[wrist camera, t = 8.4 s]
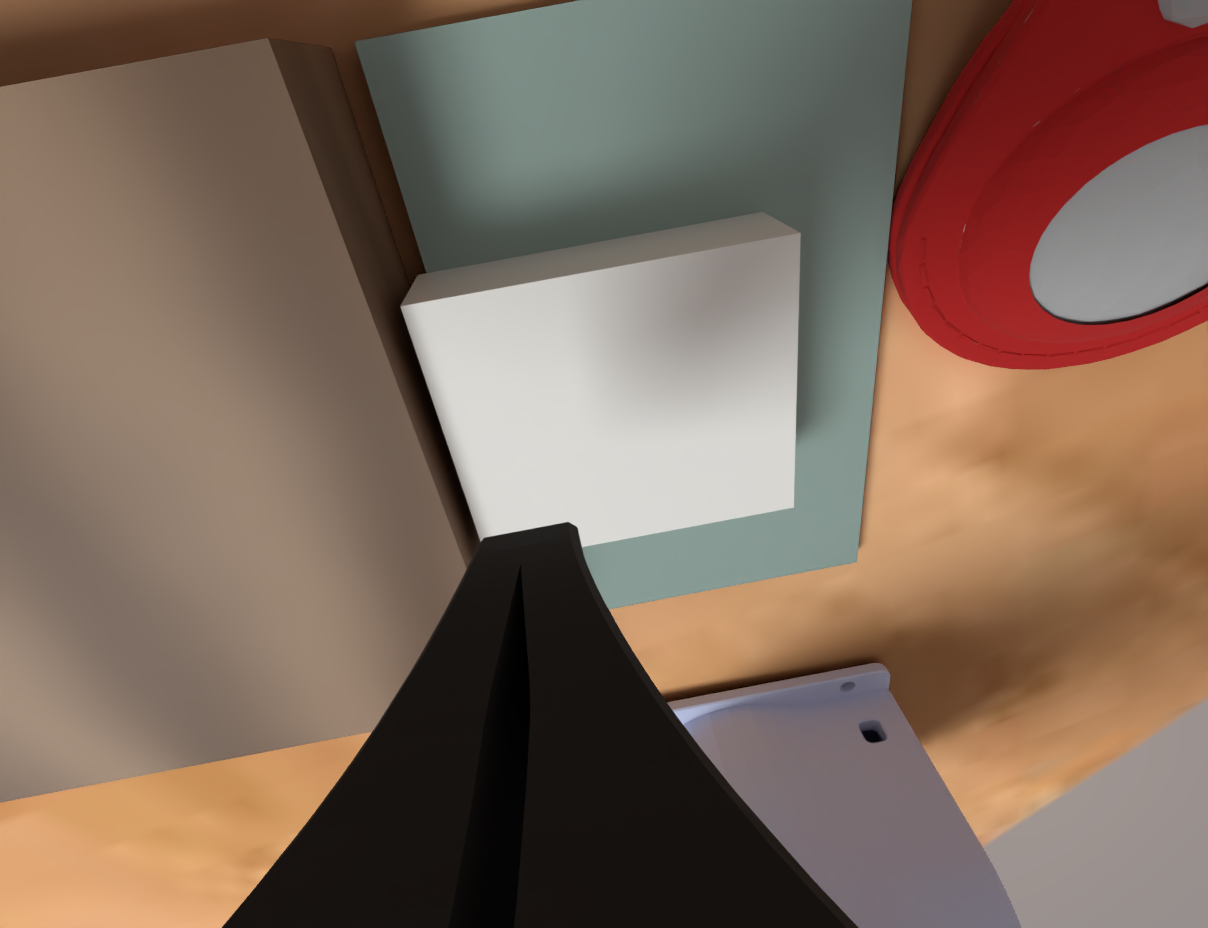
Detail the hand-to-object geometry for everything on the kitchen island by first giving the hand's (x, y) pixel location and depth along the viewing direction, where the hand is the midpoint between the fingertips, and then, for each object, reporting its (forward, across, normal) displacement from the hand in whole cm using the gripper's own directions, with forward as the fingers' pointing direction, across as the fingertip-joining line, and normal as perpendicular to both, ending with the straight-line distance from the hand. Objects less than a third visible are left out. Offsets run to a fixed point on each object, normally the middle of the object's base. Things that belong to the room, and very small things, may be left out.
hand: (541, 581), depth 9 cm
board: (+6, +9, 0) cm, 11 cm away
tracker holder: (+7, -14, -2) cm, 15 cm away
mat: (+6, -3, 0) cm, 7 cm away
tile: (+6, -2, 0) cm, 6 cm away
